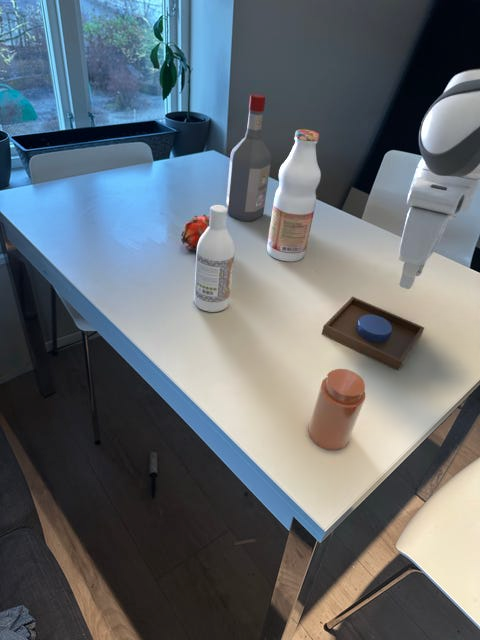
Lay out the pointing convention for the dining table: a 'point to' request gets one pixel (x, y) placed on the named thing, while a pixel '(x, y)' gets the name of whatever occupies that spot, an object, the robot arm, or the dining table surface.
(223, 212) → the bath foam
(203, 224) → the dragon fruit
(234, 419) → the dining table surface
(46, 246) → the dining table surface
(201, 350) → the dining table surface
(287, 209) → the fruit juice
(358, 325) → the jar lid
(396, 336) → the tray
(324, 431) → the jar
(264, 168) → the liquor
